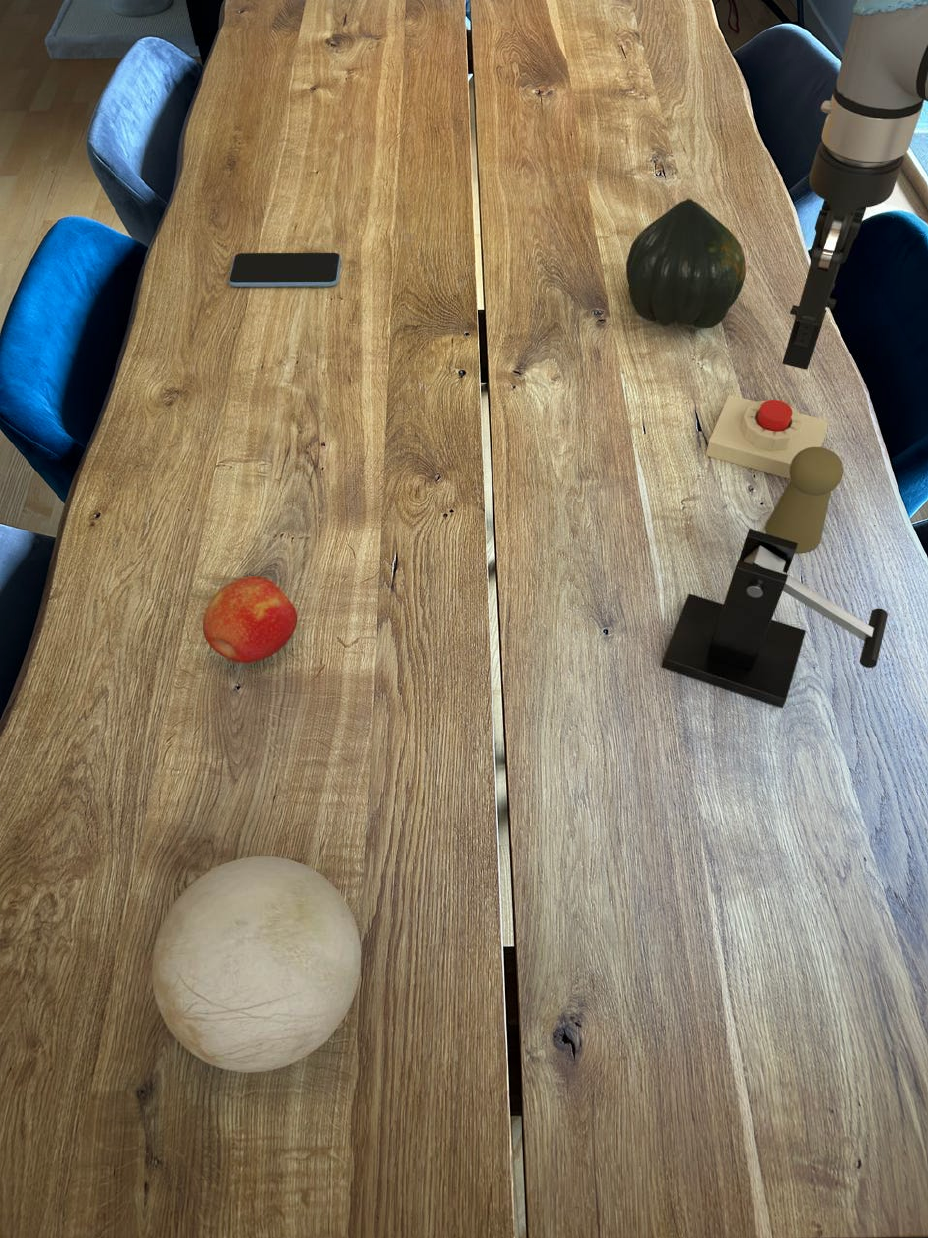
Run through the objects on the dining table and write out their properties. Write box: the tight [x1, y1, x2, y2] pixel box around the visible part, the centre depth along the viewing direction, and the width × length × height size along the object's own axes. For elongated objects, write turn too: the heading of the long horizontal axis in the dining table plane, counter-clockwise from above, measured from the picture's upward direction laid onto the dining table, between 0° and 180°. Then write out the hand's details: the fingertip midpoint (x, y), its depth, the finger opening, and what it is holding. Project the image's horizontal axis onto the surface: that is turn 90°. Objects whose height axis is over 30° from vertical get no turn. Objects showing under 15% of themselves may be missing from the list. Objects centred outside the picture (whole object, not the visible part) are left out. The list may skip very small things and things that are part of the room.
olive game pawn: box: [764, 446, 844, 554], centre depth 106 cm, size 6×6×11 cm
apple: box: [202, 575, 298, 664], centre depth 98 cm, size 8×8×8 cm
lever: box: [744, 546, 889, 669], centre depth 91 cm, size 14×6×2 cm, turn 66°
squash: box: [625, 198, 747, 329], centre depth 130 cm, size 14×15×15 cm
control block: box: [705, 394, 830, 480], centre depth 117 cm, size 12×9×4 cm
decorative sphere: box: [151, 855, 363, 1073], centre depth 74 cm, size 15×15×15 cm
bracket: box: [660, 528, 807, 709], centre depth 95 cm, size 12×9×15 cm
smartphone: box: [227, 252, 342, 288], centre depth 140 cm, size 7×1×15 cm
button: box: [757, 399, 792, 432], centre depth 115 cm, size 4×4×2 cm
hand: (796, 362), depth 109 cm, fingers closed
